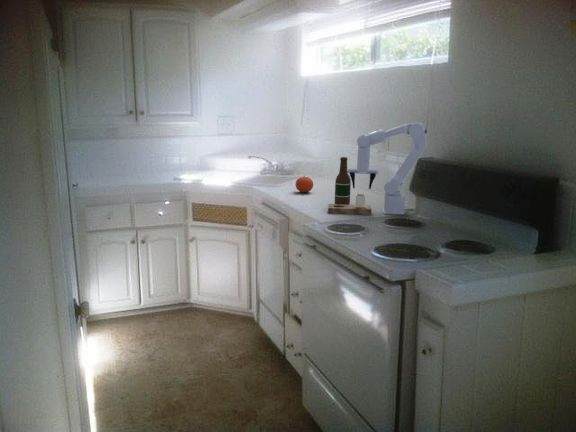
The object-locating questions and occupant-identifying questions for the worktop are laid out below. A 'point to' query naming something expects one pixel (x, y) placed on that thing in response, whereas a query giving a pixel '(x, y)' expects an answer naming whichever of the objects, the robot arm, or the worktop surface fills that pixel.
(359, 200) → the plug
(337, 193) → the beer bottle
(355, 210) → the brown wooden flat block
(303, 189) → the tomato
